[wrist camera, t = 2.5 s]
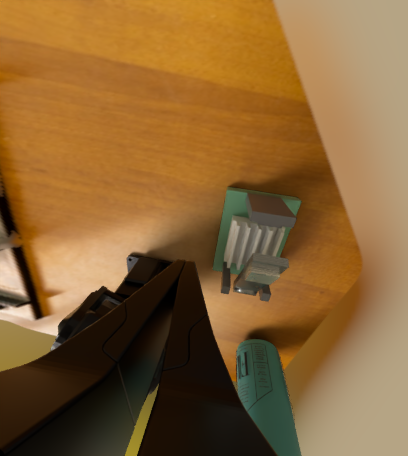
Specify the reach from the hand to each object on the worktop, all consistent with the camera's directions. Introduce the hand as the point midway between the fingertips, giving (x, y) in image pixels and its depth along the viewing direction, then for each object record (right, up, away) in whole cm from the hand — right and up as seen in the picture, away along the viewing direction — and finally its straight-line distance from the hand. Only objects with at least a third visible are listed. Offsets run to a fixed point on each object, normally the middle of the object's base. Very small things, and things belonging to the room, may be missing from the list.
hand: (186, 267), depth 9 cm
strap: (+5, -2, +7) cm, 9 cm away
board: (+6, +1, +12) cm, 13 cm away
